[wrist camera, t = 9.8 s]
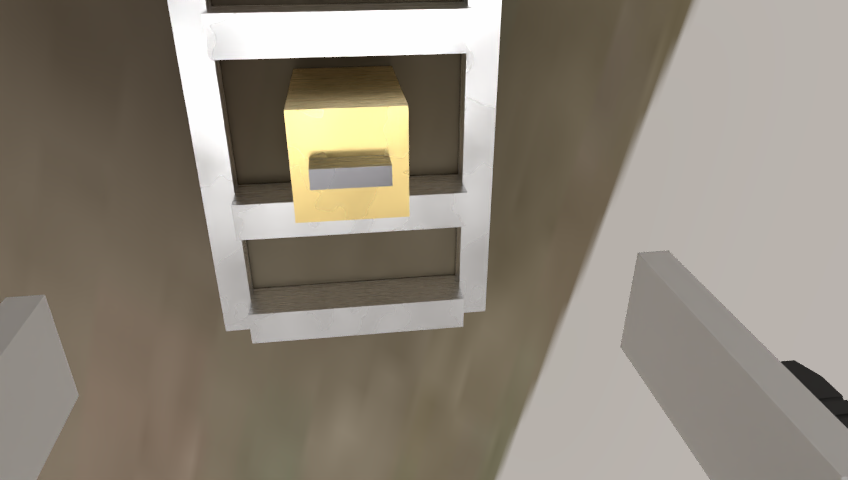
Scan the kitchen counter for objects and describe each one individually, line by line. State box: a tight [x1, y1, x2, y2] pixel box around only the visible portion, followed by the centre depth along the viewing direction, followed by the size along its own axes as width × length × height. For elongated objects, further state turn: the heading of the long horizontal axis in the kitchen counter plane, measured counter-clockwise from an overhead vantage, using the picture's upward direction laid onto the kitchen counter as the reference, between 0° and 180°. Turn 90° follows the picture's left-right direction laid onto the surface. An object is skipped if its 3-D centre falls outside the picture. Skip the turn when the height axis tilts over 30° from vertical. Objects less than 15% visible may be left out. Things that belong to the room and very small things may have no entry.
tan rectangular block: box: [284, 66, 410, 223], centre depth 26 cm, size 4×4×8 cm
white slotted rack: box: [167, 0, 502, 343], centre depth 29 cm, size 22×14×2 cm, turn 0°
